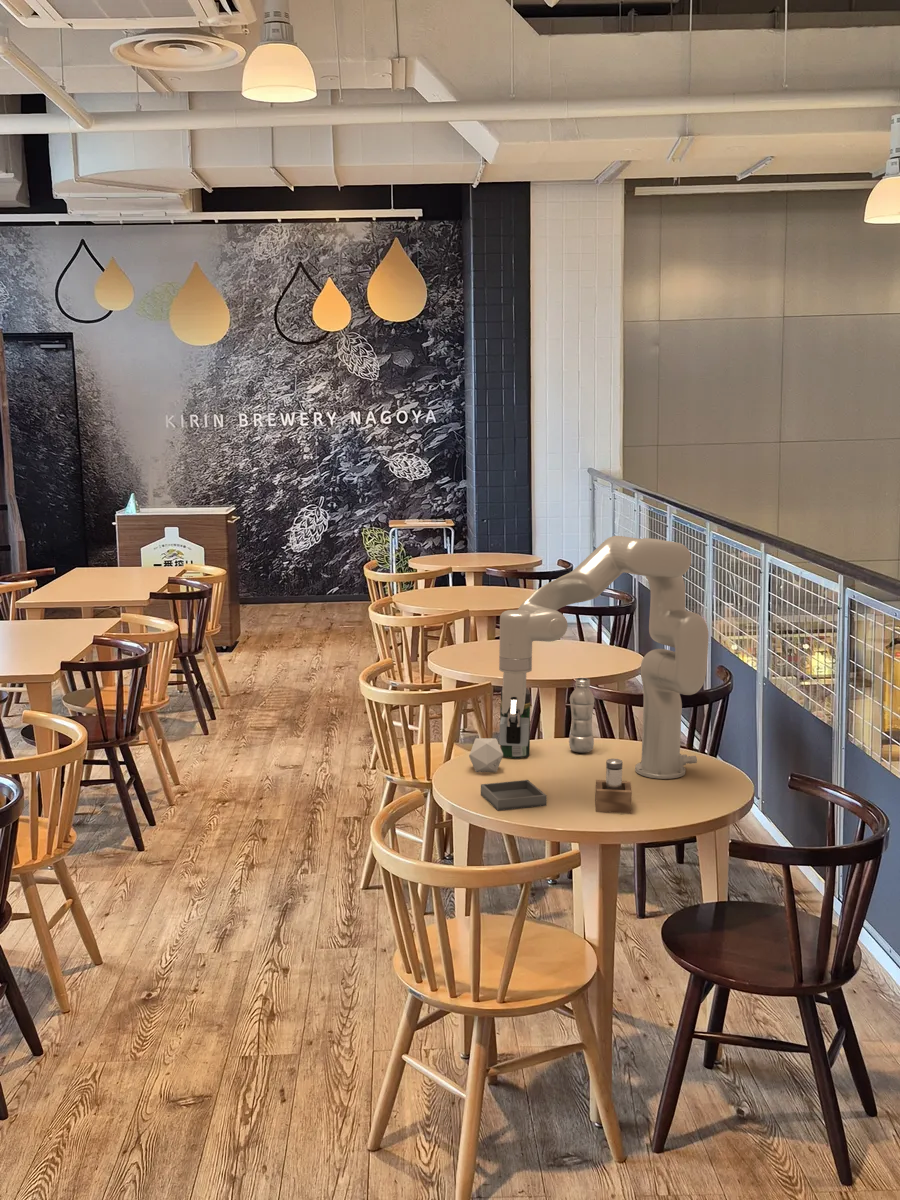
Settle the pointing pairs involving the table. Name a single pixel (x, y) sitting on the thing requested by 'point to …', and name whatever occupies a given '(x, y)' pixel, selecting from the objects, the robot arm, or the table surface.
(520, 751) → the coffee jar
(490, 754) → the die
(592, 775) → the table surface
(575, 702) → the plastic bottle
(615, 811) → the block
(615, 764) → the spice jar
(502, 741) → the small block
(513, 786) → the tray
